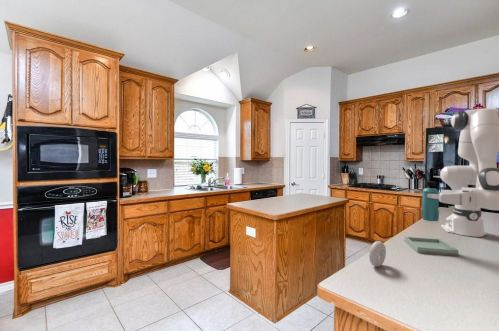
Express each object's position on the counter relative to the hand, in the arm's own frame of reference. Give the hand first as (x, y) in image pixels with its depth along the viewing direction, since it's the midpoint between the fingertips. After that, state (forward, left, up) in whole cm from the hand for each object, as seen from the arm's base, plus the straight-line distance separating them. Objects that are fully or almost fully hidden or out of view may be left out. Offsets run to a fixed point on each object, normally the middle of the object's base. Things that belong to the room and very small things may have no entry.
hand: (428, 194), depth 119 cm
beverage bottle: (0, +1, -14) cm, 14 cm away
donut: (+28, -29, -26) cm, 48 cm away
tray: (0, +1, -26) cm, 26 cm away
